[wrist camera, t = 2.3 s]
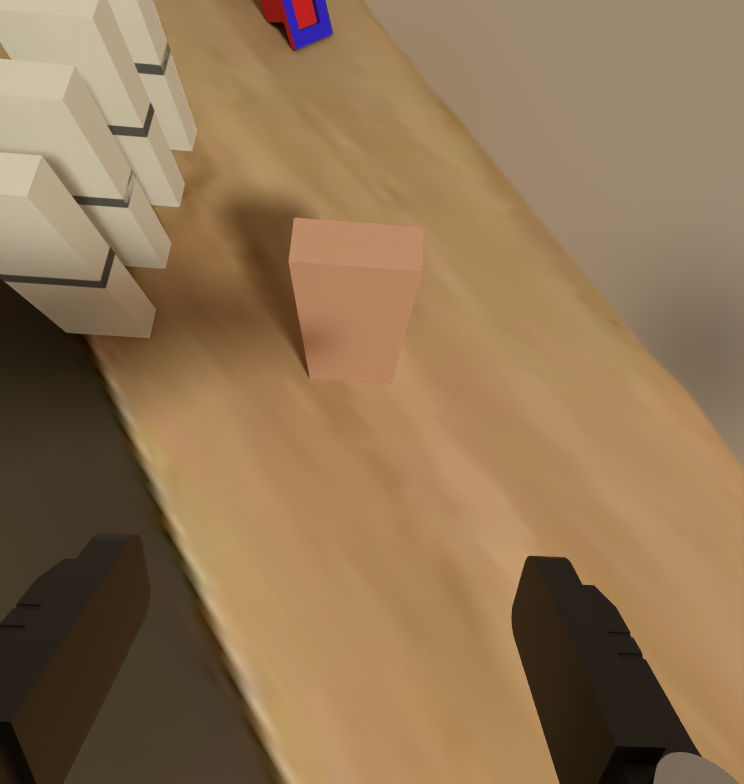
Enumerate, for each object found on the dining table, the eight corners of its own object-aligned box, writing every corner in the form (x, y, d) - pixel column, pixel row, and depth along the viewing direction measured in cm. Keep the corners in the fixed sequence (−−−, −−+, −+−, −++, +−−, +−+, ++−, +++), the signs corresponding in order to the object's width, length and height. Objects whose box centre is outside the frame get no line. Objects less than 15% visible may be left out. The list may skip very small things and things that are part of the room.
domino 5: (121, 145, 34) (11, -62, 23) (128, 124, 35) (24, -88, 23) (192, 151, 34) (117, -51, 23) (197, 130, 35) (127, -77, 23)
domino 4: (105, 201, 32) (-23, 7, 21) (112, 178, 33) (-9, -23, 22) (179, 207, 32) (92, 18, 21) (184, 183, 33) (103, -12, 22)
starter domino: (309, 378, 29) (288, 261, 17) (312, 349, 29) (293, 217, 18) (391, 384, 29) (422, 271, 18) (392, 354, 30) (423, 227, 18)
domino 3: (87, 263, 30) (-64, 89, 19) (94, 237, 31) (-46, 54, 20) (165, 269, 31) (62, 100, 19) (171, 243, 31) (75, 64, 20)
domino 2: (66, 333, 29) (-112, 186, 17) (75, 303, 29) (-91, 144, 18) (149, 338, 29) (26, 197, 18) (156, 309, 30) (42, 154, 18)
